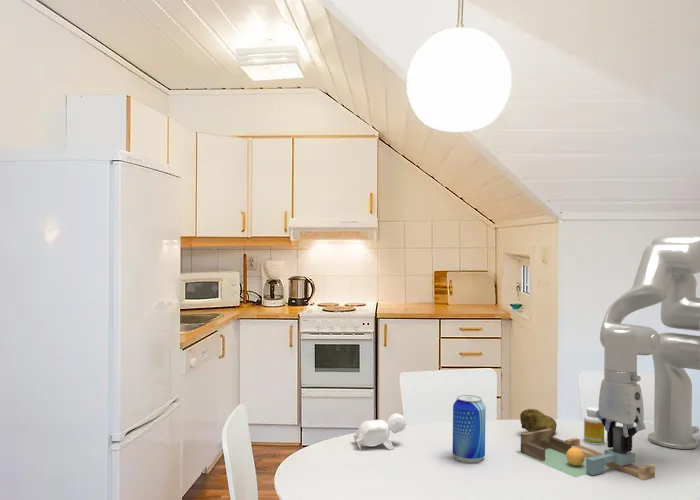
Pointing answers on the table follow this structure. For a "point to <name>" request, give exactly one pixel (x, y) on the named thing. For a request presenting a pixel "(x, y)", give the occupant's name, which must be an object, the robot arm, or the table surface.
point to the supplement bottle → (593, 428)
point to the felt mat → (562, 463)
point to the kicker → (610, 455)
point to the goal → (542, 443)
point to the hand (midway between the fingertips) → (619, 448)
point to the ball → (575, 456)
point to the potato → (536, 421)
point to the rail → (639, 472)
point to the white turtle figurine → (379, 431)
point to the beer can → (469, 428)
